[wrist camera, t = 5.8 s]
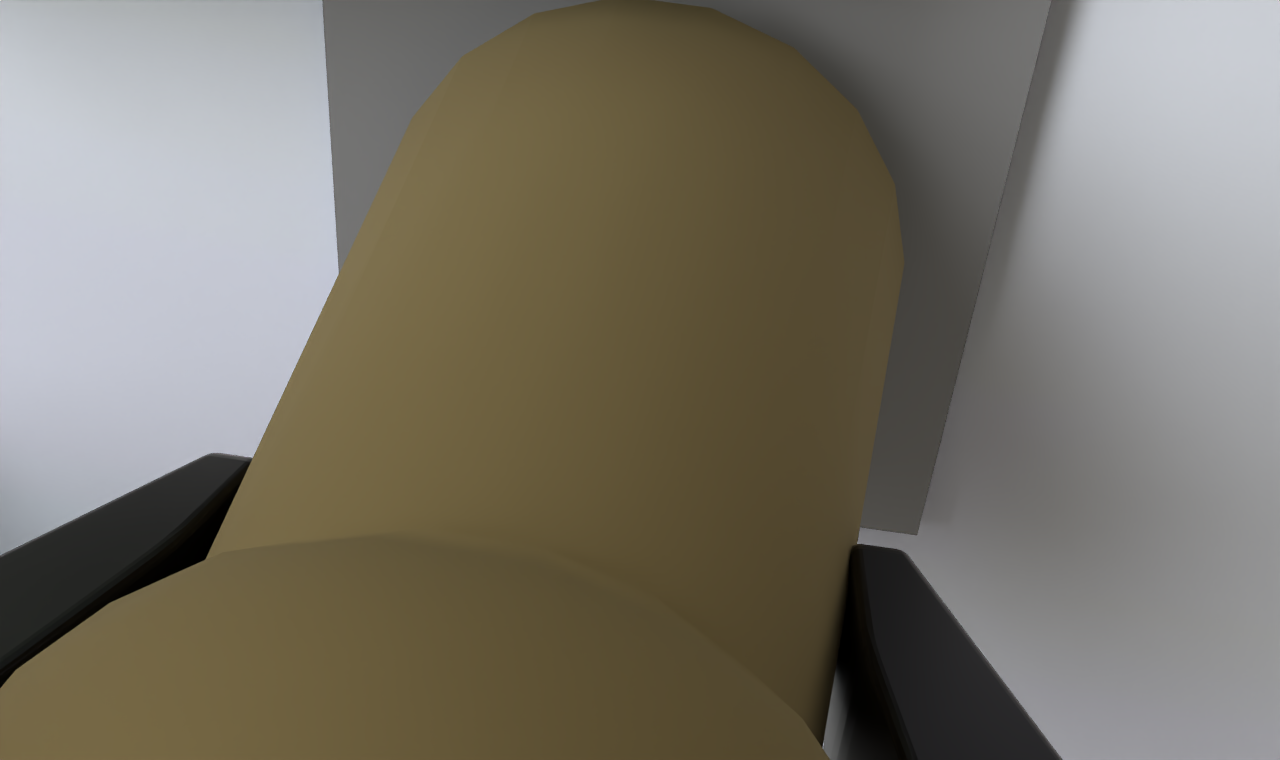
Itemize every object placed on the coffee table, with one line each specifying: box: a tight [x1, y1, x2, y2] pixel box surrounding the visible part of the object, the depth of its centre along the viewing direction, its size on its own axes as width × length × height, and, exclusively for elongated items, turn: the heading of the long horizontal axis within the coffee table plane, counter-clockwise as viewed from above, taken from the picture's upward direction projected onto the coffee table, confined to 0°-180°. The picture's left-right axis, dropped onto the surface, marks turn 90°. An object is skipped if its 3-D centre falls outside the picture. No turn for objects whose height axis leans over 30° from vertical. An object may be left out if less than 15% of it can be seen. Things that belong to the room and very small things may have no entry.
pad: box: [322, 0, 1052, 535], centre depth 15 cm, size 8×8×1 cm
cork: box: [0, 0, 904, 760], centre depth 9 cm, size 6×6×11 cm
